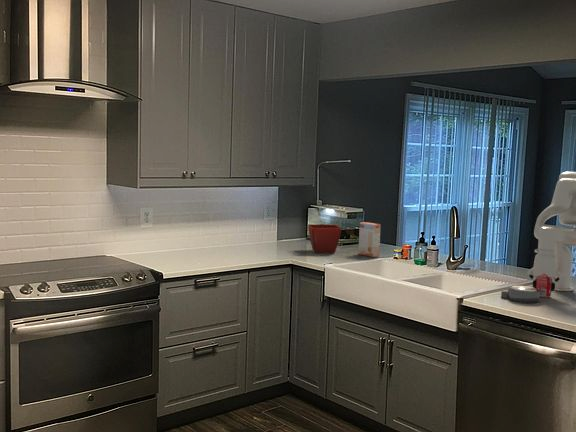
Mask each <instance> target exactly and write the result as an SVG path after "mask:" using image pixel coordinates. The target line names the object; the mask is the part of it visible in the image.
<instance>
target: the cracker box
mask: <svg viewBox="0 0 576 432" xmlns="http://www.w3.org/2000/svg"><path fill="white" fill-rule="evenodd" d="M381 230H382V229H381V224H380V223H373V222H368V221H367V222H366V221H364V222H363V221H362V222H361V221H360V222H359V233H358V235H359V236H358V252H357V254H358V255H361V256H365V257H370V258H379V257H380V245H381Z"/></svg>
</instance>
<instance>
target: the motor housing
mask: <svg viewBox="0 0 576 432" xmlns="http://www.w3.org/2000/svg"><path fill="white" fill-rule="evenodd" d="M500 298H501V299H507V300H509V301H510V302H514V303H519V304H528V305H529V304H531V305H533V304H534V305H535V304H539V303H540V298H541V297H540V290H538V289H536V288H534V287H533V286H528V285H527V286H526V285H511V286H508V287H507V290H504V289H503V290H501V296H500Z"/></svg>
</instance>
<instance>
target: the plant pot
mask: <svg viewBox="0 0 576 432" xmlns="http://www.w3.org/2000/svg"><path fill="white" fill-rule="evenodd" d="M307 227H308V236H309V239H310V240H309V241H310V245H311V248H312V251H313V252H314V253H317V254H318V253H319V254H321V253H324V254H335V253H336V250H337V247H338V244H339V240H340V237H341V234H342V233H341V232H342V227H341V226H339V225H337V224H308V226H307Z"/></svg>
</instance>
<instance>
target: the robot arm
mask: <svg viewBox="0 0 576 432" xmlns="http://www.w3.org/2000/svg"><path fill="white" fill-rule="evenodd" d="M555 216H558V222H559V224H561V225H563V226H561V225H553V224H552V225H551V224H545V223H546V222H547V220H549V219H550V218H552V217H555ZM533 235H534V237H535V238H536V239H537V240H538V245H537V246H538V247H537V248H536V249H534V253H536V254H535V257H534V261H533V267H532V268H530V269H528V270H526V274H527V276H529V278H530V279H531V280H532V287H533V288H536V278H537V276H540V275H541V274H546V275H547V276H548V277H549V278H551V279H552V284H551V292H553V291H558V292H572V291H574V287H573V286H571V278H572V266H573V264H572V263H573V253H572V251H571V249H570V247H572V248H576V171H564V172H561V173H560V174H559V176H558V180H557V182H556V183H555V189H554V191H553V196H552V200H551V203H550V205H549V206H547V207H546V208H544V210H543V211H541V213H540V214H539V215H538V216H537V218H536V222H535V225H534V229H533ZM543 272H545V273H543Z"/></svg>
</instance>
